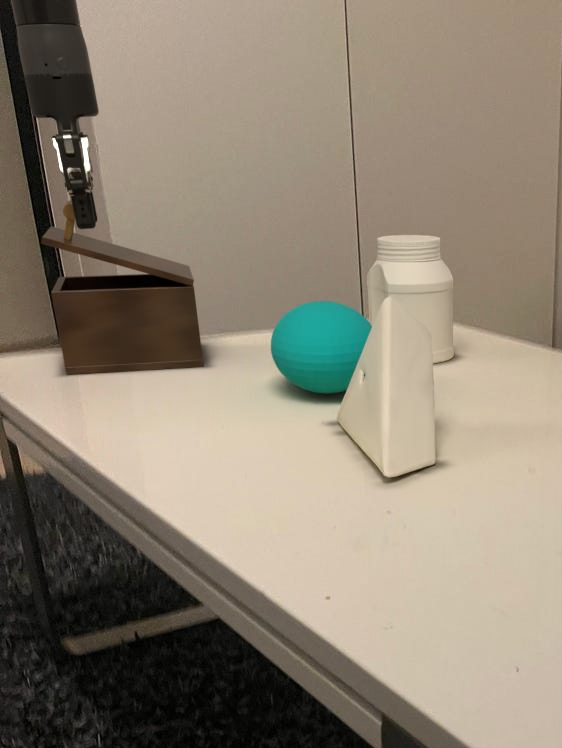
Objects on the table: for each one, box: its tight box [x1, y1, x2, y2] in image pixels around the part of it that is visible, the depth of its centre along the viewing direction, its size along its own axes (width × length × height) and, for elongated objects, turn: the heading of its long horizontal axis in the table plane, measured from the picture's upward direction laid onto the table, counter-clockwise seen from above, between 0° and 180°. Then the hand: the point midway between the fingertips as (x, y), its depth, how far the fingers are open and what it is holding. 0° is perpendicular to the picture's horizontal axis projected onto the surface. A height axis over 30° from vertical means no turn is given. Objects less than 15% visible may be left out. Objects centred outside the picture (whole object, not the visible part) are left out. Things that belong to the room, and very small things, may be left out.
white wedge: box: [336, 297, 437, 479], centre depth 95 cm, size 15×6×20 cm
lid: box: [40, 199, 195, 286], centre depth 126 cm, size 18×14×5 cm
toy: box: [270, 300, 372, 395], centre depth 116 cm, size 18×13×10 cm
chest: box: [50, 273, 205, 376], centre depth 130 cm, size 17×14×10 cm
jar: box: [366, 234, 455, 364], centre depth 132 cm, size 12×10×15 cm
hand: (87, 225), depth 124 cm, fingers closed on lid, 6 cm apart
